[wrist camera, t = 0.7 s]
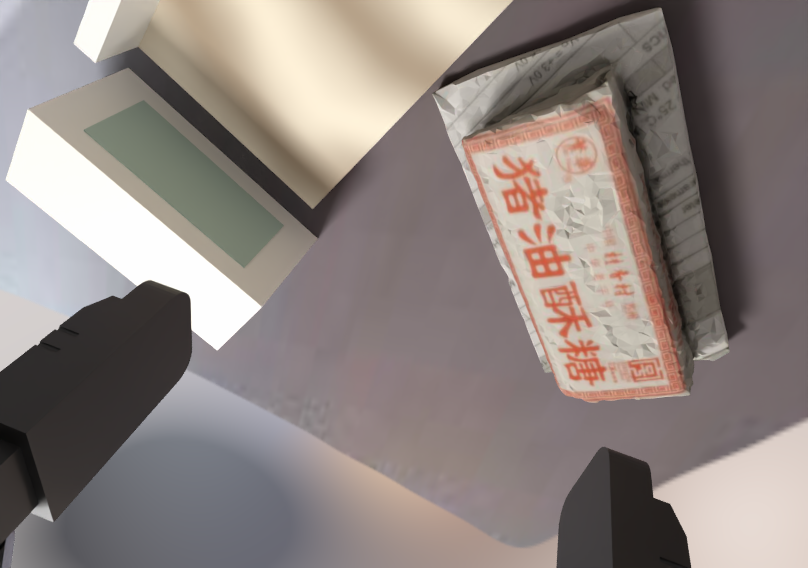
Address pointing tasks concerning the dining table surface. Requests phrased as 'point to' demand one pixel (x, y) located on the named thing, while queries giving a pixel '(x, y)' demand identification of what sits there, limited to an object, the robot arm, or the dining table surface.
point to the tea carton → (157, 200)
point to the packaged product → (595, 207)
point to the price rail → (113, 26)
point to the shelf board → (311, 71)
